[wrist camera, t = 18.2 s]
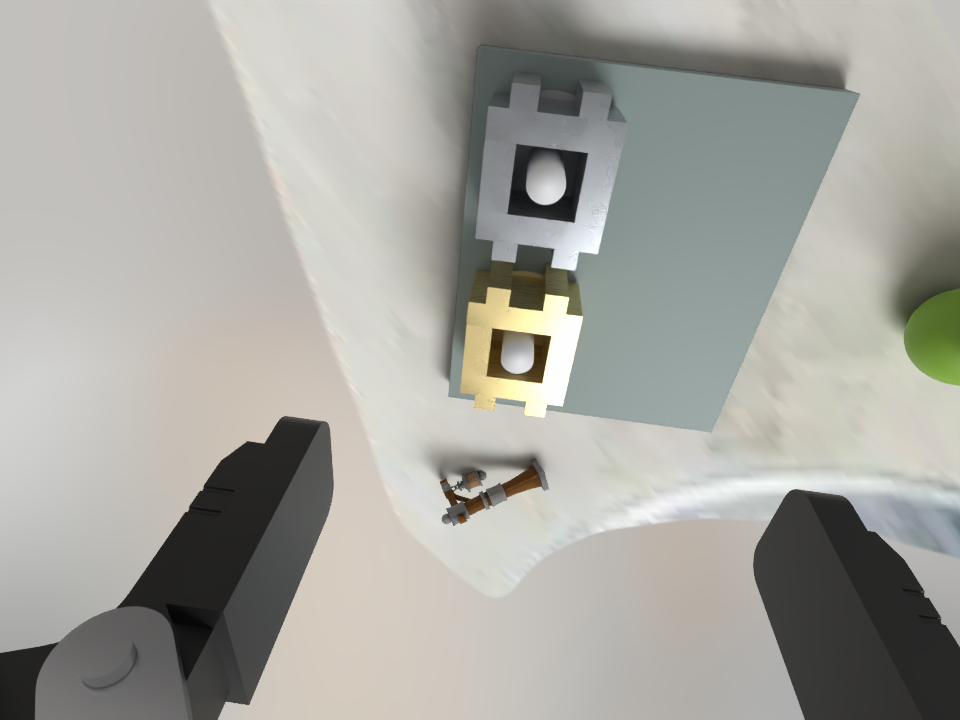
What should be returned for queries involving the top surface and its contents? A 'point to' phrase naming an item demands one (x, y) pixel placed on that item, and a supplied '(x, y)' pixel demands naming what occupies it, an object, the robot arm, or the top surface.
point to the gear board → (661, 228)
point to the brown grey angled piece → (488, 492)
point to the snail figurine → (936, 337)
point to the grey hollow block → (557, 127)
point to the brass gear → (521, 309)
